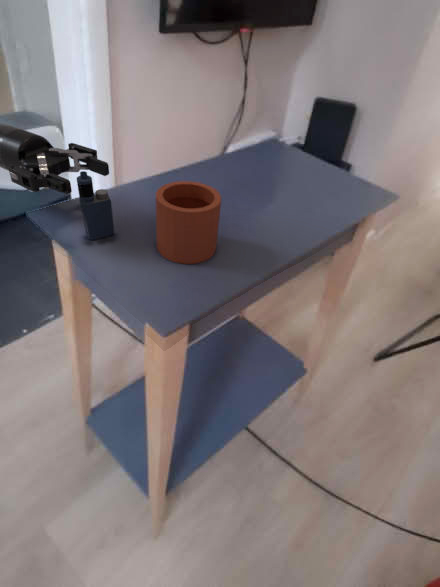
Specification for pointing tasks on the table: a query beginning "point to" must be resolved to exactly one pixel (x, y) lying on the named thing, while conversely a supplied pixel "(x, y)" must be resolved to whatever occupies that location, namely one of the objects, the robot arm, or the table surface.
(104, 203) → the vaping device
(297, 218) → the table surface
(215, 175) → the table surface
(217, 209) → the terracotta planter pot
